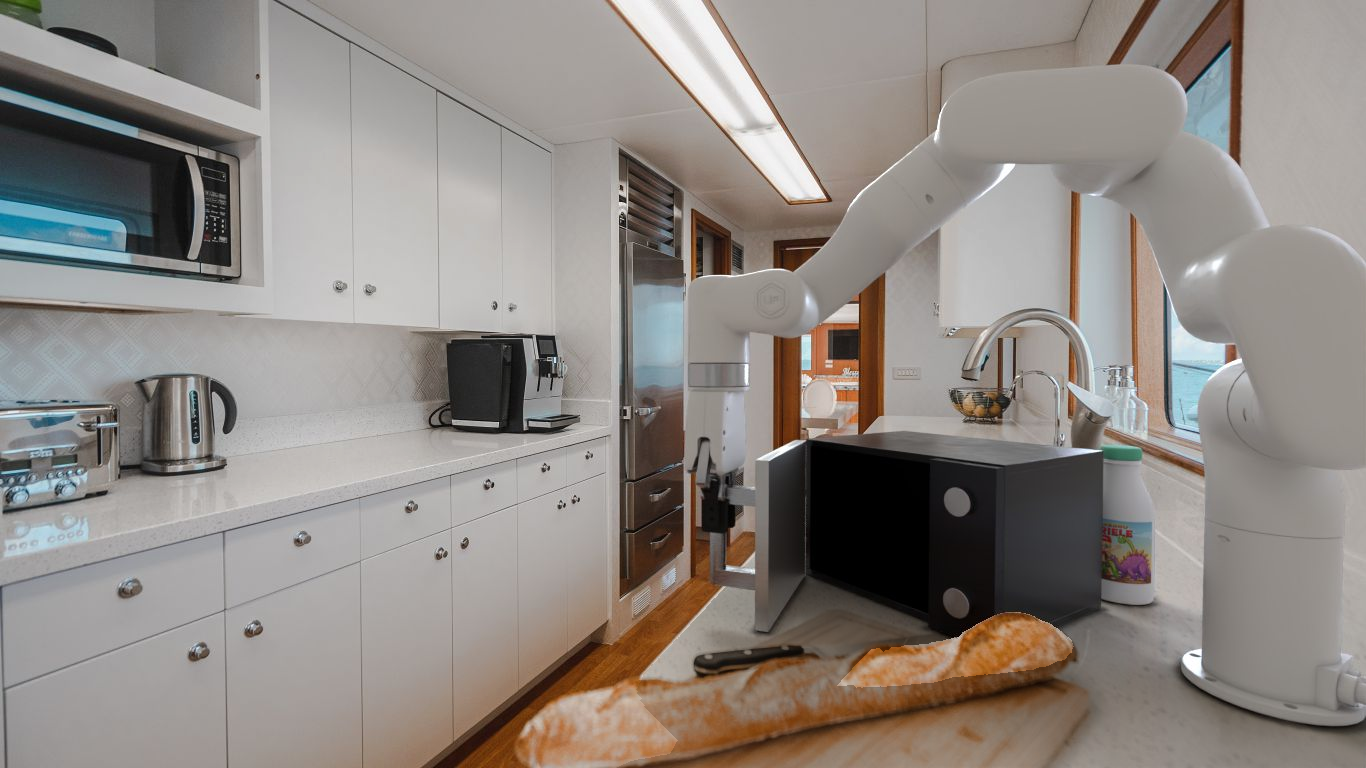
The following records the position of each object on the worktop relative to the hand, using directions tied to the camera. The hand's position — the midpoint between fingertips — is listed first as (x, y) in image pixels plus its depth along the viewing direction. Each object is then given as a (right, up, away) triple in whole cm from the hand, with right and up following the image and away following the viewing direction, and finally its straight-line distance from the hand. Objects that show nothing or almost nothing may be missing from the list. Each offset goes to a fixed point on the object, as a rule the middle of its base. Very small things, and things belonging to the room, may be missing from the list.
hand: (718, 528), depth 76 cm
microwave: (+30, -11, +8) cm, 33 cm away
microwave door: (+6, -10, +6) cm, 14 cm away
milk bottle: (+54, -11, +7) cm, 55 cm away
